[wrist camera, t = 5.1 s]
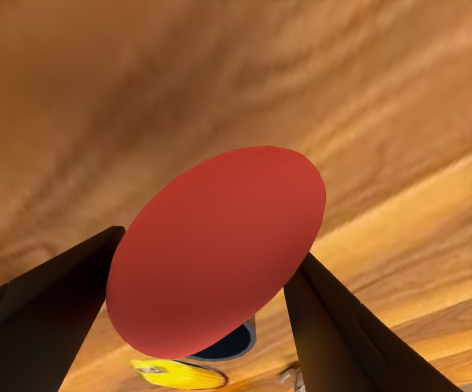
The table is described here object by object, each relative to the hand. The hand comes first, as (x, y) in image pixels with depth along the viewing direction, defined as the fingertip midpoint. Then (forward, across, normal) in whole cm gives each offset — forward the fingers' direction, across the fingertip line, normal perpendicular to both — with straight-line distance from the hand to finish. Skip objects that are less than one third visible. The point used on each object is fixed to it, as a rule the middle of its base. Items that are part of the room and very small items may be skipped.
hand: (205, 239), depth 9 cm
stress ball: (+1, 0, 0) cm, 1 cm away
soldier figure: (+10, -15, +36) cm, 40 cm away
